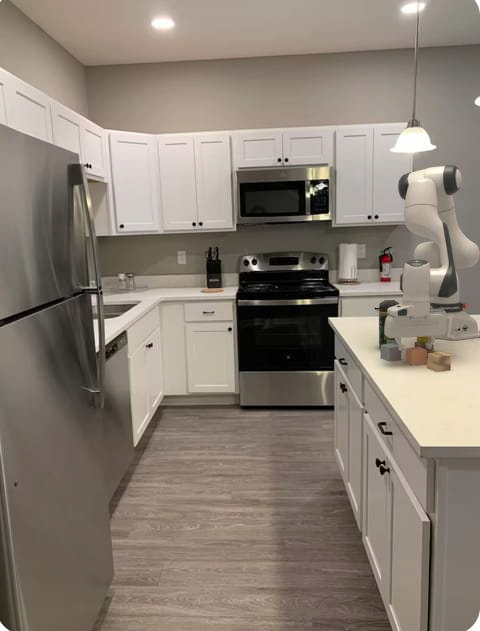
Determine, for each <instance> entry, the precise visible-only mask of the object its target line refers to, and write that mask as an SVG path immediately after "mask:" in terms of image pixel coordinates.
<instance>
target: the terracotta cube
mask: <svg viewBox="0 0 480 631" xmlns="http://www.w3.org/2000/svg"><path fill="white" fill-rule="evenodd" d="M405 362H406V363H407V364H409V365H410V364H411V365H410V366H412V367H413V365H415V366H427V350H425V349H423V348H421V347H415V346H413V347H406V348H405Z"/></svg>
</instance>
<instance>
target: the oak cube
mask: <svg viewBox="0 0 480 631" xmlns="http://www.w3.org/2000/svg"><path fill="white" fill-rule="evenodd" d="M451 364H452V354H448V353H446V352H444V351H436V352H435V351H434V353H428V359H427V365H426V366H427V367H426V369H429V370H432V371H434V372H436V373H439V372H440V373H441V372H446V371H447V370H448V371H451V368H452V366H451Z"/></svg>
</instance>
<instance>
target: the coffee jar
mask: <svg viewBox="0 0 480 631" xmlns="http://www.w3.org/2000/svg"><path fill="white" fill-rule="evenodd" d="M398 304H400V302H398V301H396V300H395V299H387V300H386V299H385V300H383V301H382V302H380V303H379V304H378V347H379V350H381V345H384V344H391V343H393V344H396V345H398V344H397V342H396V341H395V338H388V337H387V336H386V335H385V334H384V327H385V320H386V318H387V316H388V315H390V314H388V312H387V310H388V308H390V307H393V306H395V305H398ZM400 343H401V344H402V340H401V341H400Z"/></svg>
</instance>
